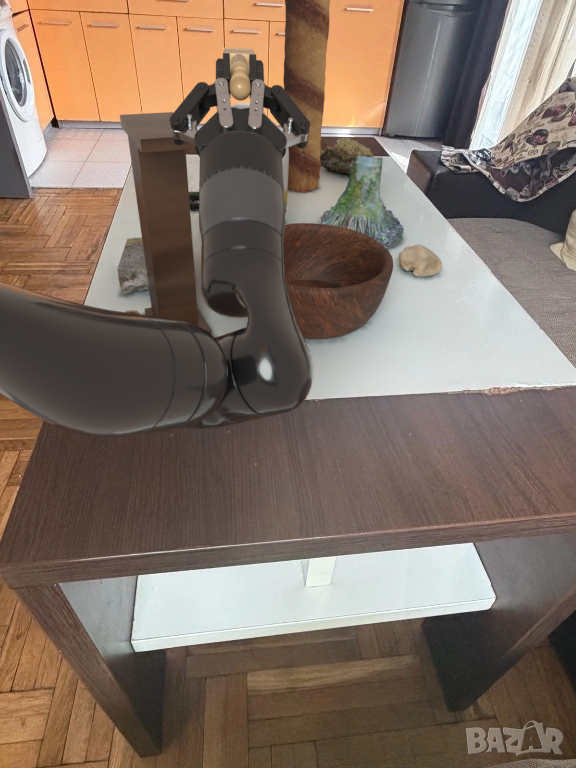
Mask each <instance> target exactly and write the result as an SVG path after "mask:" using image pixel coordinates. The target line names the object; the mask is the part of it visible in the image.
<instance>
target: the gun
mask: <svg viewBox="0 0 576 768" xmlns="http://www.w3.org/2000/svg"><path fill="white" fill-rule="evenodd" d="M189 202H190V211H199V191H189Z"/></svg>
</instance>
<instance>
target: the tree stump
mask: <svg viewBox="0 0 576 768" xmlns="http://www.w3.org/2000/svg"><path fill="white" fill-rule="evenodd" d="M383 159H384V157H378V156H377V157H375V156H374V157H365V156H355V159H354V163H353V167H352V170H351V174H350V175H349V177H348V181H347V184H346V187H345V190H344V191H343V192H342V193H341V195H340V196H339V197H338V198H337V201H336V203H335V205H334V206H330V209H328V210H325V211H323V213H322V215H321V216H320V217H319V218H320V221H321V224H327V225H334V226H339V227H344V228H348V229H351V230H355V231H358V232H360V233H363V234H365V235H368V236H370V237H372V238H373V239H375V240H377V241H378V242H380V243H381V244H382V245H383V246H384V247H385V248H386V249H387V250H390V249H392V248H394V247H395V246H397V245H398V244H399V243H401V242H402V240H403V235H404V226H403V224H401V222H400V220H399V219H398V217H396V216H395V215H394V214H393V211H392V210H389V209H387V208H386V207H387V206H385V204H384V203H385V202H384V201H383V200H382V198H381V181H382V170H383V161H384V160H383Z"/></svg>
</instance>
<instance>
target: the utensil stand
mask: <svg viewBox="0 0 576 768" xmlns="http://www.w3.org/2000/svg"><path fill="white" fill-rule="evenodd" d="M173 113H174V112H173V111H167V112H166V111H165V112H149V113H131V114H130V113H129V114H127V113H126V114H120V115H119V119H120V127H121V128H122V130H123V131H124V132H125V133H126V135H127V141H128V147H129V155H130V163H131V169H132V176H133V185H134V190H135V196H136V197H135V198H136V205H137V212H138V213H137V214H138V221H139V227H140V233H141V237H142V242H143V249H144V256H145V264H146V271H147V278H148V285H149V290H148V292H149V298H150V307H146V308H144V315H148V316H155V317H162V318H169V319H175V320H180V321H184V322H188V323H191V324H194V325H197V326H199V327H201V328H203V329H204V330H206V331H207V332H209V333H210V334H211V333H212V332H211V329H210V327H209V325H208V324H207V322H206V321H205V319H204V318H203V316H202V313H200V311H199V310H198V298H197V285H196V284H197V283H196V272H195V271H196V270H195V269H196V268H195V257H194V256H195V255H194V243H193V231H192V218H191V209H190V202H189V192H190V191H189V189H190V188H189V176H188V163H187V150H195V146H194V145H191V144H189V143H187V142H185V143H184V144H182V145H176V144H174V142H173V139H172V134H171V128H170V117H171V115H172V114H173ZM211 335H212V334H211Z"/></svg>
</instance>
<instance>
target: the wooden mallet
mask: <svg viewBox="0 0 576 768" xmlns="http://www.w3.org/2000/svg"><path fill="white" fill-rule="evenodd" d="M223 53H230V93H231V96H232V98H233V99H235V100H236V101H245V100H247V99H248V98H250V92H251V85H250V79H249V54H255V50H254V48H243V47H223V51H222V54H223Z"/></svg>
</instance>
